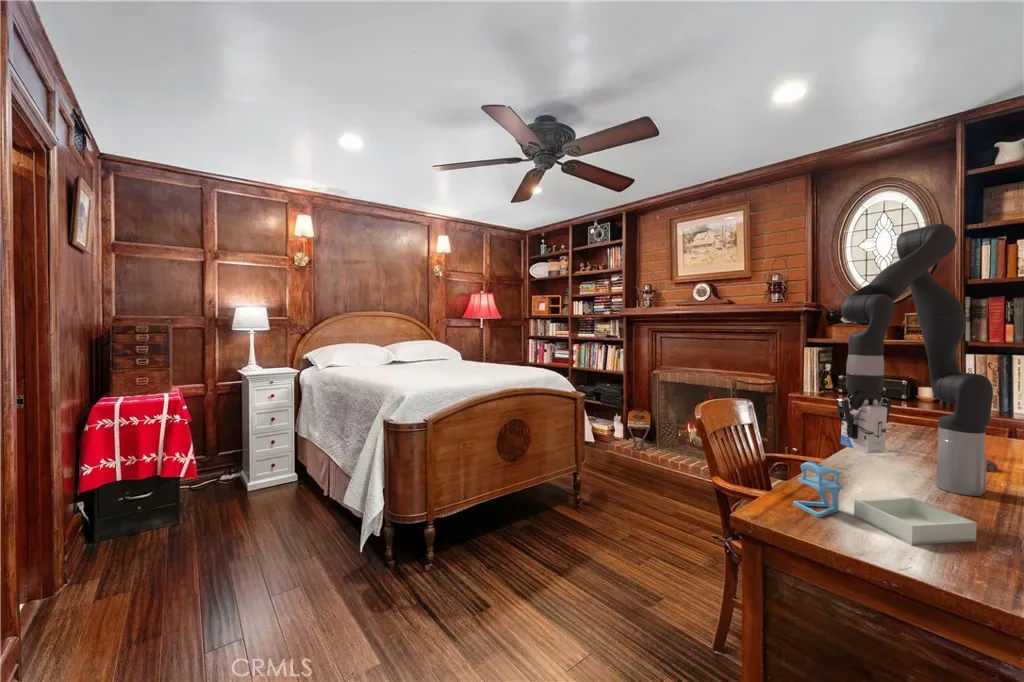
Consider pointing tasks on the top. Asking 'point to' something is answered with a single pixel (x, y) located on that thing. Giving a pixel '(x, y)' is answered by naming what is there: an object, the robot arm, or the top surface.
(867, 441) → the ink box
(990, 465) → the ceramic shard
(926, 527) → the celadon dish
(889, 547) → the top surface
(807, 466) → the chair
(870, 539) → the top surface
